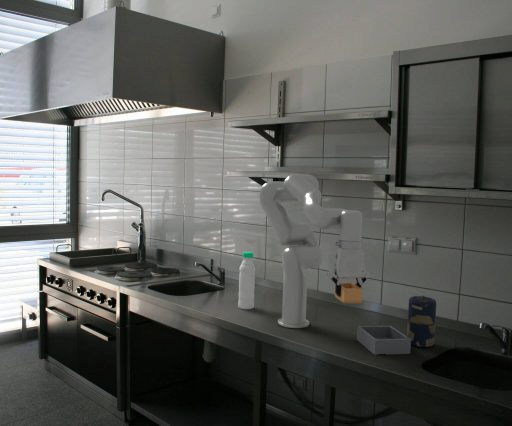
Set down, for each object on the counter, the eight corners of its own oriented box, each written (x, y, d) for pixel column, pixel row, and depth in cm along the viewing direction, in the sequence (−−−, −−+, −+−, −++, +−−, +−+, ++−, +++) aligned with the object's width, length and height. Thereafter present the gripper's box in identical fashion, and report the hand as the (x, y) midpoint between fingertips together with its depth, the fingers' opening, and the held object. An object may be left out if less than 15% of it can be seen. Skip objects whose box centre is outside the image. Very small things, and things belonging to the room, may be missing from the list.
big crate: (356, 339, 189) (357, 326, 189) (389, 338, 192) (390, 325, 191) (374, 354, 174) (375, 340, 173) (410, 353, 176) (411, 339, 176)
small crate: (334, 296, 187) (335, 282, 187) (351, 296, 188) (352, 282, 188) (343, 303, 177) (344, 288, 177) (361, 303, 178) (362, 288, 178)
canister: (438, 344, 187) (441, 296, 185) (427, 350, 180) (430, 300, 178) (413, 338, 193) (416, 291, 192) (401, 344, 186) (404, 295, 185)
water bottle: (236, 308, 227) (238, 252, 225) (240, 305, 233) (242, 250, 232) (251, 310, 225) (253, 253, 223) (255, 306, 232) (257, 251, 230)
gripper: (329, 246, 176) (327, 298, 177) (377, 247, 179) (375, 297, 180) (323, 243, 183) (321, 293, 185) (369, 244, 186) (367, 293, 188)
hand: (348, 295), depth 182 cm, fingers closed on small crate, 6 cm apart
